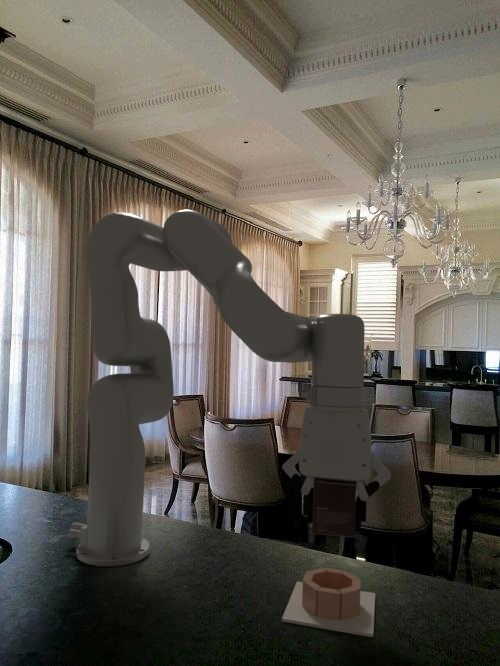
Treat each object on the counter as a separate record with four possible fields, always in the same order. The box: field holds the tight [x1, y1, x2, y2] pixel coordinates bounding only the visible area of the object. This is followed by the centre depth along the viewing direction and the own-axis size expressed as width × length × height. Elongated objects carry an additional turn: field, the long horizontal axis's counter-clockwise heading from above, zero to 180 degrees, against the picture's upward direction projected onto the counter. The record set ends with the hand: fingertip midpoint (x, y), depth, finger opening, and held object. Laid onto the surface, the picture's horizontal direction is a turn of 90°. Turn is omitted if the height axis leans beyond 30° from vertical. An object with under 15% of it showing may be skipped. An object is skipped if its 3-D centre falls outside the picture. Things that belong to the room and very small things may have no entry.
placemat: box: [281, 580, 376, 638], centre depth 72 cm, size 12×12×1 cm
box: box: [311, 479, 357, 538], centre depth 73 cm, size 6×6×7 cm
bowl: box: [302, 567, 362, 621], centre depth 73 cm, size 8×8×4 cm
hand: (334, 522), depth 73 cm, fingers closed on box, 6 cm apart
